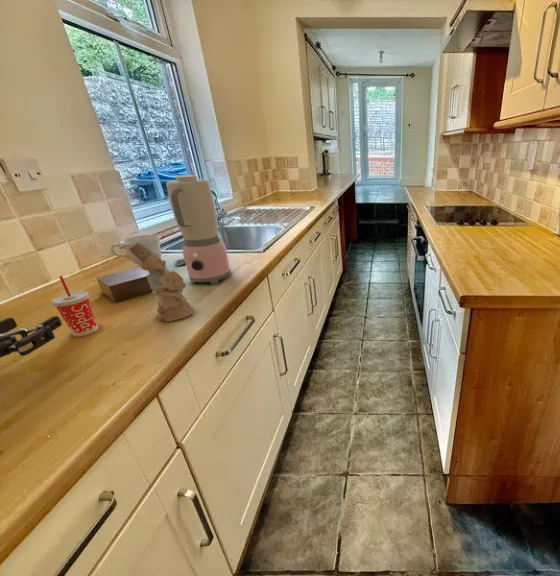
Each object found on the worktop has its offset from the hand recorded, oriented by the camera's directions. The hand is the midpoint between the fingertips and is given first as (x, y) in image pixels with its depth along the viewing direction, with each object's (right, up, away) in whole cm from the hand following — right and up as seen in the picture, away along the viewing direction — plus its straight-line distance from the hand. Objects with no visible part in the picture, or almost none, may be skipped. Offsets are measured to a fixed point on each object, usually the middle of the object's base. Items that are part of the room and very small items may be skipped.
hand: (35, 320), depth 64 cm
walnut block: (-6, +6, +32) cm, 33 cm away
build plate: (-1, +17, +57) cm, 59 cm away
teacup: (-17, +14, +51) cm, 56 cm away
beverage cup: (0, -4, +11) cm, 12 cm away
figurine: (+16, -1, +18) cm, 24 cm away
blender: (+13, +9, +39) cm, 43 cm away
